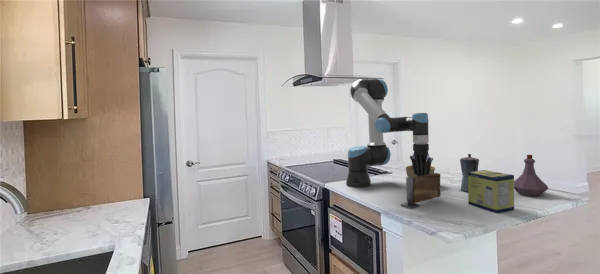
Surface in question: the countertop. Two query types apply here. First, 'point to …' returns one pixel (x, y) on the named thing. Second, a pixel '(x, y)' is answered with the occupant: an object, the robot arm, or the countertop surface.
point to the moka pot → (467, 169)
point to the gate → (426, 187)
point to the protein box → (491, 190)
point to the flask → (529, 180)
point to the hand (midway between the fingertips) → (421, 189)
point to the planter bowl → (411, 173)
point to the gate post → (409, 194)
